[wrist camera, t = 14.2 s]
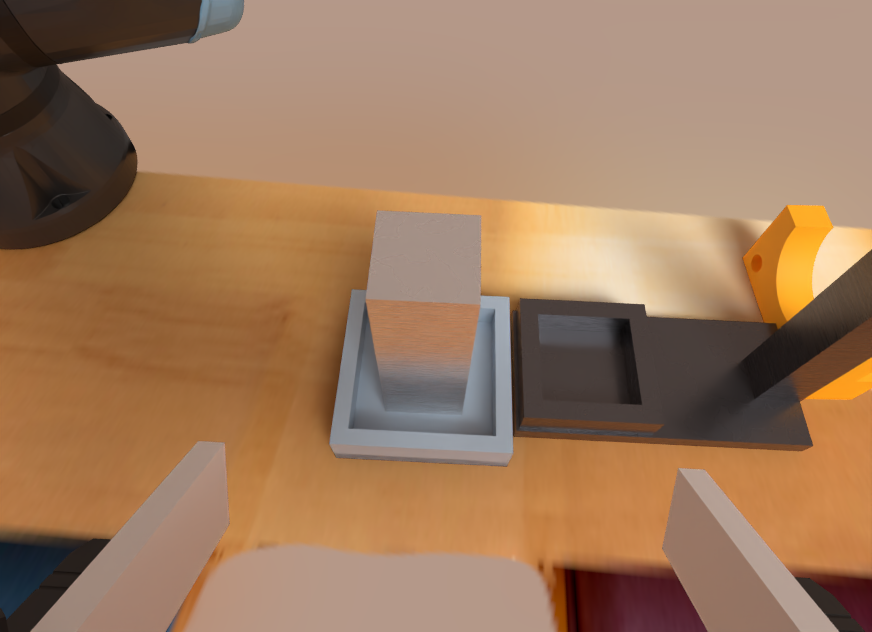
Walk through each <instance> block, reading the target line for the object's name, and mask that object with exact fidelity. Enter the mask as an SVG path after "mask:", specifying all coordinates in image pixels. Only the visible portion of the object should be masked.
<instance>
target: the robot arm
mask: <svg viewBox="0 0 872 632" xmlns="http://www.w3.org/2000/svg"><path fill="white" fill-rule="evenodd" d="M243 10H244V0H0V249H25V248H33V247H38V246H43V245H47V244H51V243H54V242H58V241H60V240H63V239H66V238H68V237H71V236H73V235H75V234H77V233H79V232H81V231H83V230H85V229H87V228H89V227H90V226H92V225H94V224H95V223H97V222H98V221H99V220H101V219H102V218H103V217H105V216H106V215H107V214H108V213H110V212H111V211H112V210H113V209H114V208H115V207H116V206H117V205H118V204H119V203H120V201H121V200H122V199H123V198H124V196H125V195H126V194H127V192H128V190H129V189H130V187H131V185H132V183H133V181H134V178H135V175H136V171H137V155H136V150H135V148H134V145H133V144H132V142H131V140H130V139H129V137H128V135H127V134H126V132H125V130H124V129H123V127H122V126H121V124H120V123H119V122H118V120H117V119H116V118H115V117H114V116H113V115H112V114H111V113H110V112H109V111H107V110H106V109H104V108H103V107H102V106H100V105H98V104H96V103H95V102H94V101H93V100H92V99H91V97H90V96H89V95H87V94H86V93H85V92H84V91H83V90H82V89H81V88H80V87H79V86H78V85H77V84H76V83H74V82H73V81H72V80H71V79H70V78H68V77H67V76H66V75H65V74H64V73H63V72H62V71H61V70H60V69H59V68H58V66H57V65H56V64H62V63H68V62H73V61H80V60H85V59H92V58H98V57H104V56H110V55H116V54H122V53H128V52H134V51H140V50H146V49H152V48H158V47H164V46H170V45H177V44H182V43H194V42H196V41H198V40H199V39H200V38H203V37H207V36H211V35H215V34H219V33H223V32H227V31H229V30H231V29H233V28H234V27H236V26H237V24H238V23H239V22H240V20H241V17H242V15H243ZM229 524H230V523H229V506H228V490H227V473H226V457H225V443H224V442H206V441H198V442H197V443H196V444H195V445H194V446H193V448H192V449H191V450H190V451H189V452H188V453H187V454H186V456H185V457H184V458H183V459H182V460H181V461H180V462H179V463H178V465H177V466H176V467H175V468H174V469H173V470H172V471H171V473H170V474H169V475H168V476H167V477H166V478H165V479H164V480H163V482H162V483H161V484H160V485H159V486H158V487H157V488H156V490H155V491H154V492H153V493H152V494H151V495H150V496H149V498H148V499H147V500H146V501H145V502H144V503H143V504H142V505H141V507H140V508H139V509H138V510H137V511H136V512H135V513H134V515H133V516H132V517H131V518H130V519H129V520H128V521H127V522H126V524H125V525H124V526H123V527H122V528H121V529H120V530H119V532H118V533H117V534H116V535H115V536H114V537H113V538H112V540H109V539H92V540H91V541H89V542H87V543H86V544H84V545H83V546H81V547H79V548H78V549H76V550H75V551H73V552H72V553H70V554H69V555H68V556H67V557H66V558H65V559H64V560H63V561H62V562H61V564H60V565H59V566H58V567H57V568H56V569H55V570H54V571H53V574H52V575H51V574H50V575H49V576H48V577H47V578H46V579H45V580H44V581H43V582H42V583H41V584H40V586H39V589H36V590H35V591H34V592H33V593H32V594H31V595H30V596H29V597H28V598H27V599H26V600H25V601H24V602H23V603H22V604H21V605H20V606H19V608H18V609H17V610H16V611H15V612H14V613H13V614H12V615H11V616H10V617H9V618H8V619H7V620H6V617H5V615H4V613H3V611H2V609H1V608H0V632H166V630H167V628H168V627H169V625H170V623H171V622H172V620H173V618H174V617H175V615H176V613H177V611H178V610H179V608H180V606H181V605H182V603H183V601H184V600H185V598H186V596H187V595H188V593H189V591H190V590H191V588H192V586H193V585H194V583H195V581H196V580H197V578H198V576H199V574H200V573H201V571H202V569H203V568H204V566H205V564H206V563H207V561H208V559H209V558H210V556H211V554H212V553H213V551H214V549H215V548H216V546H217V544H218V543H219V541H220V539H221V538H222V536H223V534H224V532H225V531H226V529H227V527H228V526H229ZM662 549H663V551H664V553H665V555H666V556H667V558H668V560H669V562H670V564H671V565H672V567H673V569H674V571H675V573H676V575H677V576H678V578H679V580H680V582H681V584H682V585H683V587H684V589H685V591H686V593H687V594H688V596H689V598H690V600H691V602H692V603H693V605H694V607H695V609H696V611H697V612H698V614H699V616H700V618H701V620H702V622H703V623H704V625H705V627H706V629H707V631H708V632H865V631H864V630H863V629H862V627H861V626H860V625H859V624H858V623H857V622H856V621H855V620H854V619H851V615H850V614H849V613H848V612H847V611H846V609H845V608H844V607H843V606H842V605H841V604H840V603H839V602H838V600H837V599H836V598H835V597H834V596H833V595H832V594H830V593H829V592H828V591H826V590H825V589H824V588H822V587H821V586H819V585H818V584H817V583H815V582H814V581H813V580H811V579H810V578H798V577H793V575H792V574H791V573H790V572H789V571H788V569H787V568H786V567H785V566H784V565H783V563H782V562H781V561H780V560H779V559H778V557H777V556H776V555H775V554H774V553H773V551H772V550H771V549H770V548H769V547H768V545H767V544H766V543H765V542H764V541H763V539H762V538H761V537H760V536H759V535H758V533H757V532H756V531H755V530H754V528H753V527H752V526H751V525H750V524H749V522H748V521H747V520H746V519H745V518H744V516H743V515H742V514H741V513H740V512H739V510H738V509H737V508H736V507H735V506H734V504H733V503H732V502H731V501H730V500H729V498H728V497H727V496H726V495H725V494H724V492H723V491H722V490H721V489H720V488H719V486H718V485H717V484H716V483H715V482H714V480H713V479H712V478H711V477H710V476H709V474H708V473H707V472H706V471H705V470H701V469H683V468H678V472H677V477H676V482H675V487H674V492H673V497H672V502H671V507H670V512H669V517H668V522H667V527H666V532H665V537H664V542H663V547H662Z"/></svg>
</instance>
